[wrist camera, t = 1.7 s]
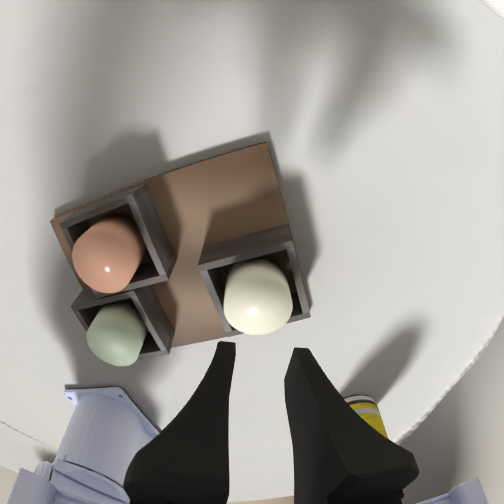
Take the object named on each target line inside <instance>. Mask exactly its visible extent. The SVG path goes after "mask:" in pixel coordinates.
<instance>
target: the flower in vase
mask: <svg viewBox="0 0 504 504" xmlns="http://www.w3.org/2000/svg"><path fill="white" fill-rule="evenodd" d="M481 1H482V2H483V3H485V4H486V5H487V6H488V7H489V8H490V9H491V10H493V11H494V12H495V13H496V14H498V15H499V16H501V17H502V18H504V0H481Z"/></svg>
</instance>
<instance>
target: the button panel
mask: <svg viewBox="0 0 504 504" xmlns="http://www.w3.org/2000/svg"><path fill="white" fill-rule="evenodd" d="M112 214H117V215H122V216H125V217H127V218H129V219H131V220H132V221H133V222H135V223H136V224H137V225H138V228H139V230H140V232H141V235H142V237H143V239H144V242H145V244H146V253H145V256H144V258H143V260H142V262H141V263H140V265H139V267H138V268H137V270H136V272H135V273H134V275H133V277H132V278H131V280H130V282H129V283H128V285H127V286H126V287H125V288H124V289H122V290H120V291H118V292H115V293H103V292H99V291H97V290H94V289H92V288H91V287H89V286H88V285H87V284H86V283H84V282H83V280H82V279H81V278H80V277H79V275H78V274H77V272H76V270H75V268H74V265H73V260H72V251H73V247H74V244H75V242H76V241H77V240H78V238H79V237H81V236H82V235H83V234H84V233H85V232H86V231H87V230H88V229H89V228H91V227H92V226H93V225H94V224H95V223H96V222H97V221H99V220H100V219H101V218H103V217H105V216H107V215H112ZM50 223H51V225H52V227H53V229H54V232H55V234H56V236H57V238H58V240H59V242H60V245H61V247H62V249H63V251H64V253H65V255H66V257H67V259H68V261H69V263H70V265H71V267H72V269H73V271H74V273H75V275H76V276H77V278H78V280H79V282H80V284H81V286H82V288H83V291H82V292H81V293H80V295H79V296H78V297H77V299H76V300H75V301H74V303H73V304H72V305H71V308H72V309H73V311H74V313H75V314H76V316H77V317H78V319H79V321H80V322H81V324H82V325H83V327H84V329H85V330H86V332H87V330H88V329H89V327H90V325H91V324H92V322H93V320H94V319H95V317H96V315H97V314H98V312H99V310H100V309H101V307H102V306H103V304H106V303H110V302H115V301H119V300H125V301H128V302H130V303H132V304H134V305H135V306H136V308H137V310H138V311H139V313H140V315H141V317H142V319H143V320H144V322H145V324H146V326H147V327H148V331H147V334H146V337H145V339H144V342H143V345H142V347H141V350H140V353H139V355H138V358H137V359H141V358H148V357H154V356H161V355H167V354H169V352H170V349H171V347H177V346H182V345H188V344H193V343H198V342H203V341H208V340H213V339H218V338H223V337H230V336H234V335H239V334H244V333H243V332H240V331H238V330H237V329H235V328H234V327H233V326H231V324H230V323H229V322H228V321H227V319H226V317H225V314H224V297H225V287H226V279H227V275H228V272H229V270H230V269H231V268H232V266H233V265H234V264H236V263H237V262H240V261H243V260H247V259H251V258H255V257H259V256H264V257H268V258H270V259H273V260H274V261H276V262H277V263H279V264H280V265H281V267H282V268H283V269H284V271H285V273H286V276H287V281H288V285H289V290H290V294H291V299H292V304H293V309H292V313H291V316H290V318H289V320H288V321H287V322H286V323H290V322H294V321H298V320H302V319H306V318H310V317H311V315H310V311H309V307H308V302H307V298H306V293H305V289H304V285H303V281H302V276H301V272H300V268H299V264H298V260H297V256H296V252H295V248H294V244H293V240H292V236H291V232H290V228H289V224H288V220H287V216H286V212H285V208H284V204H283V201H282V197H281V193H280V189H279V186H278V182H277V178H276V174H275V171H274V167H273V164H272V160H271V156H270V153H269V149H268V146H267V143H266V142H264V143H260V144H256V145H253V146H249V147H245V148H242V149H238V150H235V151H232V152H228V153H225V154H222V155H218V156H215V157H212V158H209V159H205V160H202V161H199V162H196V163H193V164H190V165H187V166H184V167H181V168H178V169H175V170H172V171H169V172H166V173H164V174H161V175H158V176H155V177H152V178H150V179H147V180H144V181H142V182H139V183H136V184H134V185H131V186H128V187H126V188H123V189H121V190H118V191H116V192H113V193H111V194H108V195H106V196H103V197H101V198H99V199H96V200H94V201H91V202H89V203H87V204H84V205H82V206H80V207H78V208H75V209H73V210H71V211H69V212H66V213H64V214H62V215H60V216H58V217H55V218H54V219H52V220H51V221H50Z"/></svg>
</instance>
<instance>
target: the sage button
mask: <svg viewBox="0 0 504 504" xmlns="http://www.w3.org/2000/svg"><path fill="white" fill-rule="evenodd" d="M147 331H148V327H147V326H146V324H145V322H144V320H143V319H142V317H141V315H140V313H139V311H138V310H137V308H136V306H135V305H134V304H132V303H130V302H128V301H125V300H119V301H115V302H110V303H106V304H103V306H102V307H101V309H100V310H99V312H98V314H97V315H96V317H95V319H94V320H93V322H92V324H91V325H90V327H89V329H88V330H87V333H86V341H87V344H88V346H89V348H90V349H91V351H92V352H93V353H94V354H95V355H96V356H97V357H98V358H100V359H101V360H103V361H104V362H106V363H109V364H111V365H115V366H129V365H131V364H133V363H134V362H135V361H136V360H137V358H138V355H139V353H140V350H141V347H142V345H143V342H144V339H145V337H146V334H147Z"/></svg>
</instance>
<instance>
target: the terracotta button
mask: <svg viewBox="0 0 504 504" xmlns="http://www.w3.org/2000/svg"><path fill="white" fill-rule="evenodd" d="M145 253H146V244H145V242H144V239H143V237H142V235H141V232H140V230H139V228H138V225H137V224H136V223H135V222H133V221H132V220H131V219H129V218H127V217H125V216H122V215H117V214H112V215H107V216H105V217H103V218H101V219H100V220H99V221H97V222H96V223H95V224H94V225H93V226H92V227H91V228H89V229H88V230H87V231H86V232H85V233H84V234H83V235H82V236H81V237H79V238H78V240H77V241H76V242H75V244H74V247H73V251H72V260H73V265H74V268H75V270H76V272H77V274H78V275H79V277H80V278H81V279H82V280H83V282H84V283H86V284H87V285H88V286H89V287H91V288H92V289H94V290H97V291H99V292H103V293H115V292H118V291H120V290H122V289H124V288H125V287H126V286H127V285H128V283H129V282H130V280H131V278H132V277H133V275H134V273H135V272H136V270H137V268H138V267H139V265H140V263H141V262H142V260H143V258H144V256H145Z"/></svg>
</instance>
